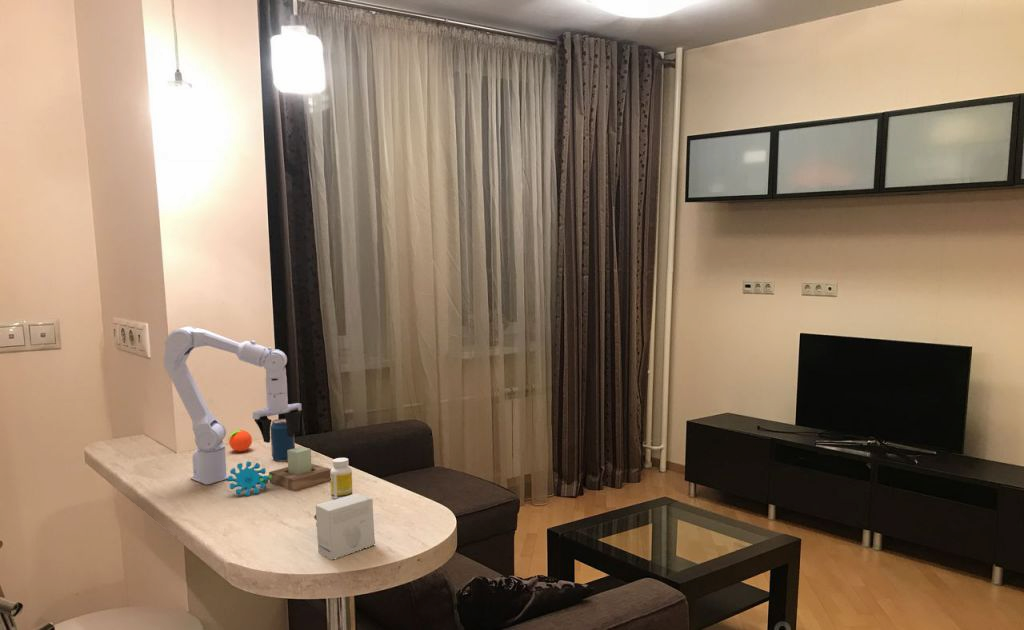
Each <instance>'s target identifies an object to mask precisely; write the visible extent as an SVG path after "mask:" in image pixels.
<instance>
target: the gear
mask: <svg viewBox="0 0 1024 630" xmlns="http://www.w3.org/2000/svg"><path fill="white" fill-rule="evenodd" d="M245 464H246V465H245V466H246V467H244V469H243V463H241V462H240V463H237V464H236V467H237V469H238V470H239V472H236V468H234V467H233V468H232V469H230V471H229V472H230V475H231V476H229V477H228V479H227V481H228V482H232V483H229V489H230V490H233V489H235V488H236V490H235V494H236V495H240V494H241V493H242V491H244V490H246V491H244V495H243V496H246V497H249V496H250V495H251V489H252V488H254V489H253V494H254V495H258V494H260V493H259V492H260V490H259V488H258V486H257V485H259V487H260V489H261V490H263V489H264V488H266V486H267V485H268V484H269V480H271V478H272V475H271V474H269V473H268V475H265V474H266V468H261V469H259V468H260V466H261V464H259V463H258V462H256V463H255V464H254V466H252V462H251V461H246V463H245ZM251 466H252V467H251ZM250 467H251V468H250ZM257 469H258V470H257ZM233 475H234V476H235V478H234V476H233ZM232 476H233V477H232ZM233 482H234V483H233ZM239 487H240V488H239Z"/></svg>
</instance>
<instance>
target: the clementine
mask: <svg viewBox="0 0 1024 630" xmlns="http://www.w3.org/2000/svg"><path fill="white" fill-rule="evenodd" d="M227 440H228V443H229V446H230V448H231V449H232V450H234V452H237V453H238V452H240V453H241V452H244V451H246V450H249V448H250V447H251V446H252V443H253V442H252V441H253V439H252V435H251V433H249V431H247V430H246V429H239V430H236V431H233V432H231V433H230V435H229V437H228V439H227Z"/></svg>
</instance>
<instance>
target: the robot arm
mask: <svg viewBox="0 0 1024 630" xmlns="http://www.w3.org/2000/svg"><path fill="white" fill-rule="evenodd" d="M163 343H164V356H163V366H164V368H165V370H166V372H167V374H168V375H169V378H170V380H171V382H172V384H173V385H174V388H175V389H176V392H177V394H178V395H179V398H180V400H181V402H182V403H183V406H184V407H185V410H186V411H187V414H188V415H189V417H190V420H191V422H192V431H193V433H194V442H195V445H196V447H197V448H196V449H195V450H194V452H193V454H192V469H193V470H192V471H193V473H192V476H190V480H194V481H196V482H198V483H201V484H204V485H210V484H213V483H219V482H221V481H225V480H228V477H229V476H232V477H233V478H234V476H233V475H232V474H229V473H227V462H226V460H227V458H226V457H227V456H226V444H225V443H224V441H223V440H224V439H225V437H226V434H227V430H226V429H227V428H226V427H225V426H224V424H222V423H221V422H220V421H219V420H218V419H217V417H216V415H215V414H213V413H212V412H211V411H210V409H209V407H208V405H207V403H206V401H205V399H204V397H203V395H202V393H201V391H200V389H199V387H198V385H197V383H196V381H195V379H194V377H193V375H192V373H191V371H190V369H189V367H188V365H187V360H188V358H189V357H190V354H191V353H192V351H193V350H194V349H195V348H201V347H206V346H207V347H210V348H215V349H218V350H221V351H225V352H228V353H231V354H235V355H236V357H237V358H238V360H239V361H243V362H245V363H248V364H250V365H254V366H256V367H260V368H262V367H263V368H264V370H265V392H266V393H265V394H266V398H265V399H266V408H262V409H259V410H256V411H252V419H254V420H253V421H254V422H255V423H256V425H257V427H258V428H259V431H260V433H261V436H262V439H263V442H264V443H271V425H272V421H273V420H272V419H270V418H269V417H272V416H278V415H282V414H284V419H286V424H287V435H288V436H289V437H293V436H294V437H295V430H296V427H297V424H298V421H299V419H300V417H301V415H302V414H301V411H302V403H299V402H295V403H290V404H289V403H288V401H289V398H288V382H287V381H288V379H287V378H288V377H287V369H286V368H287V367H286V365H287V363H288V357H287V355H286V354H285V352H284V351H282V350H280V349H278V348H277V349H273V347H272V346H268V347H266V346H263V345H260V344H257V341H256V340H253V339H252V340H250V341H249V340H245V341H243V342H238V341H235V340H232V339H230V338H228V337H225V336H222V335H219V334H218V333H215V332H212V331H209V330H206V329H203V328H198V327H197V328H196V327H194V326H191V325H185V326H183V327H181V328H177V329H174V330H172V331H171V332H169V334H168V336H167V337H166V338H165V341H164V342H163Z"/></svg>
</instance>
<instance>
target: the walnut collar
mask: <svg viewBox="0 0 1024 630" xmlns="http://www.w3.org/2000/svg"><path fill="white" fill-rule="evenodd" d="M311 468H312V471H311V472H308V473H304V474H301V475H293V474H290V473H288V466H286V467H282V468H278V469H274V470H271V471H269V472H268V475H269V474H271V475H272V478H271V480H268V483H270V484H273V485H276V486H279V487H282V488H284V489H287V490H290V491H293V492H296V491H298V490H302V489H305V487H306V488H308V486H309V487H311V485H312V486H315V485H318V484H317V483H319V484H321V483H320V482H322V483H324V482H323V481H325V482H327V481H326V480H328V481H331V480H330V479H331V475H330V471H331V469H332V468H328V467H325V466H322V465H318V464H316V463H315V464H314V463H312V462H311ZM314 484H315V485H314Z"/></svg>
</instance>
